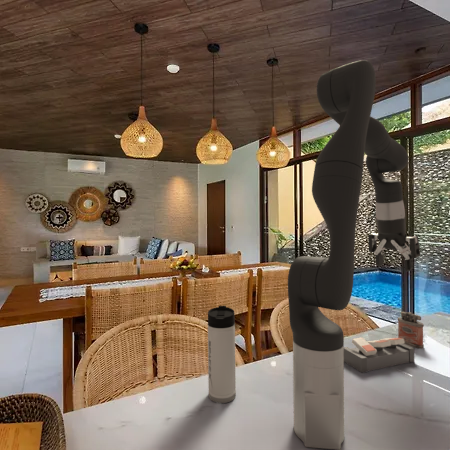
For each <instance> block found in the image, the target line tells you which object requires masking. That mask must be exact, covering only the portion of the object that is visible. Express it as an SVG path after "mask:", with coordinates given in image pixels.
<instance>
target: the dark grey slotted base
mask: <svg viewBox="0 0 450 450" xmlns="http://www.w3.org/2000/svg"><path fill="white" fill-rule="evenodd" d="M374 348H375V349H376V350H377V352H376V354H374V355H368V356H366V355H364V354H363V353H362V352H361V351H360V350H359V349H358V348H357V347H353V348H351V347H349V346H344V364H347V365H348V366H350V367H352V368H353V369H355V370H356V371H359V373H367V372H371V371H376V370H379V369H384V368H388V367H389V368H390V367H394V366H398V365H403V364H408V363H413V362H415V347H412V346H409V345H406V344H404V343H402V344H397V345H391V346H386V347H374Z"/></svg>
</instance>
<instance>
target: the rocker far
mask: <svg viewBox="0 0 450 450" xmlns="http://www.w3.org/2000/svg"><path fill="white" fill-rule="evenodd" d="M378 340H380V341H381V340H386V341H390V343H391V345H397V344H402V343H403V344H404V343H405V342H404V339H402V338H398V337H385V338H380V339H378Z"/></svg>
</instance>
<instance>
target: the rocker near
mask: <svg viewBox="0 0 450 450" xmlns="http://www.w3.org/2000/svg"><path fill="white" fill-rule="evenodd" d="M351 343H352V345H354V346H355V348H358V349H359V350H360V351H361V352H362V353H363V354H364V355H366V356H368V355H374V354H376V352H377V350H376V349H375V348H374V347H373V346H372V345H370V344H369V343H368V341H367V340H366V339H365V338H364V337H363V336H362V337H361V336H360V337H355V338H352V340H351Z"/></svg>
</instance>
